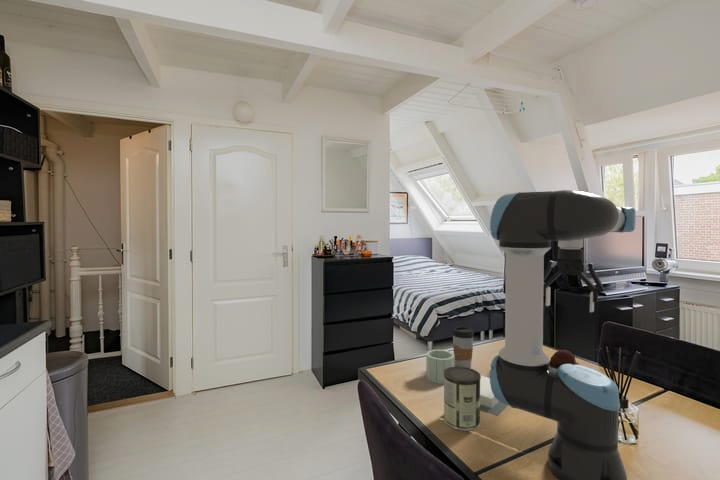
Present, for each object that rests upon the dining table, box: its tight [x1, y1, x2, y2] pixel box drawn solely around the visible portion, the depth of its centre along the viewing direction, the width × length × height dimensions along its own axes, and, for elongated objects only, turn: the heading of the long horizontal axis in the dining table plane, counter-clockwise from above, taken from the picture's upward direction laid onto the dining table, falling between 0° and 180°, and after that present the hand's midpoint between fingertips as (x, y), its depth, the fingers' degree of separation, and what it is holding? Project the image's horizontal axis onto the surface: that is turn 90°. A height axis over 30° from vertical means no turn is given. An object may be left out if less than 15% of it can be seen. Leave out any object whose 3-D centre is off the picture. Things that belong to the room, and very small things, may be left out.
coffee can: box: [443, 366, 482, 432], centre depth 102 cm, size 10×10×14 cm
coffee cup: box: [452, 326, 475, 368], centre depth 141 cm, size 8×8×15 cm
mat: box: [480, 401, 509, 417], centre depth 117 cm, size 20×16×1 cm
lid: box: [480, 375, 499, 408], centre depth 117 cm, size 14×10×3 cm
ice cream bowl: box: [549, 349, 580, 369], centre depth 119 cm, size 11×11×15 cm
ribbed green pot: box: [425, 349, 455, 385], centre depth 131 cm, size 10×10×9 cm
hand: (569, 308), depth 124 cm, fingers open, 13 cm apart
